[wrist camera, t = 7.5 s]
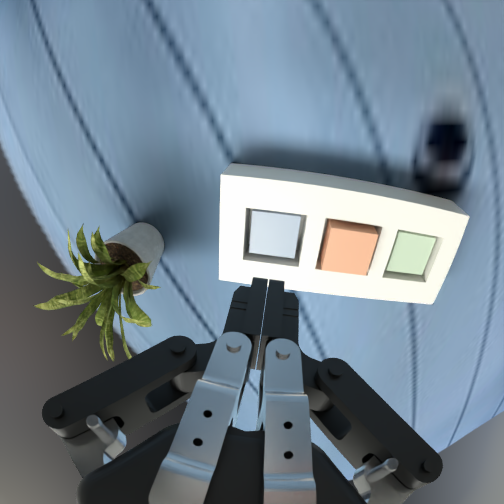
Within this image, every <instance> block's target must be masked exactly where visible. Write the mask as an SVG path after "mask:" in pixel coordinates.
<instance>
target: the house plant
mask: <svg viewBox="0 0 504 504" xmlns="http://www.w3.org/2000/svg"><path fill="white" fill-rule="evenodd" d="M99 226H100V225H99ZM76 243H77V247H78V249H79V251H80V253H81V254H82V256H83V257H84V258H85V259H86V260H87V261H89V263H84V262H83V261H82V259H81V257H80V255H79V253H78V260H77V259H76V257H75V256H74V255H73V253H72V251H71V244H70V237H69V231H68V250H69V254H70V257H71V259H72V261H73V263H74V265H75V266H76V268H77V269H78V270H79V272H80V273H81V274H82V276H72V275H69V274H59V273H55V272H53V271H51V270H49V269H47V268H45V267H44V266H41V265H40V264H39V266H40V267H41V269H42V270H43V271H44V272H45V273H46V274H48V275H50V276H51V277H54V278H56V279H60V280H64V281H69V282H71V283H73V284H74V285H76V286H78V287H80V288H79V289H76V290H74V291H71V292H68V293H65V294H61V295H57V296H55V297H54V298H52V299H51V300H50V301H48V302H46V303H42V304H38V305H36V306H35V307H37V308H40V309H44V310H56V309H60V308H64V307H68V306H72V305H78V304H83V303H87V302H89V301H91V302H90V303H89V304H88V306H87V307H86V308H85V310H84V311H83V312H82V313H81V314H80V316H79V318H78V319H77V322H76V324H75V325H74V326H73V327H72V328H70V329H69V330H68V331H66V333H64V334H63V335H66V334H69V333H71V332H73V337H72V340H74V338H75V337H76V336H77V334H78V332H79V331H80V330H81V329H82V328H83V326H84V325H85V323H86V321H87V319H88V318H89V317H90V316H91V314H93V313H94V311H95V310H96V309H97V308H98V307H99V305H100V303H101V305H100V307H99V309H98V311H97V313H96V316H95V320H96V324H97V325H99V326H102V327H101V332H100V346H101V349H102V351H103V354H104V356H105V357H106V354H105V351H104V346H103V336H104V331H105V337H106V344H107V350H108V353H109V355H110V357H111V359H112V360H113V359H114V352H113V319H114V313H115V312H116V313H117V314H118V315H119V318H120V327H121V335H122V341H123V346H124V349H125V352H126V354H127V357H128V358H129V359H130V358H132V357H131V355H130V353H129V351H128V349H127V346H126V342H125V336H124V330H123V324H122V318H123V319H124V320H125V321H126V322H128V323H136V324H137V325H138V326H142V327H150V326H151V319H150V318H149V317H148V316H147V315H146V314H145V313H144V312H143V311H142V310H141V309H140V308H139V306H138V305H137V304H136V302H135V299H134V296H138V295H140V294H143V293H144V292H145V291H146V290H147V289H157V288H159V287H158V286H152V285H150V283H151V280H152V278H153V275H154V273H155V270H156V268H157V265H158V263H159V260H160V258H161V256H162V253H163V251H164V240H163V238H162V236H161V234H160V233H159V231H158V230H157V229H156V228H155V227H153V226H152V225H150V224H147V223H142V222H139V223H135V224H134V225H132V226H130V227H128V228H127V229H125V230H123V231H121V232H120V233H118V234H116V235H115V236H113V237H111V238H110V239H108V240H106V241H105V242H103V240H102V239H101V236H100V232H99V228H98V230H97V231H96V233H95V234H94V235H93V232H92V236H91V246H92V249H93V251H94V253H95V259H93V258H92V256H91V255H90V253H89V250H88V247H87V243H86V240H85V236H84V233H83V225H82V227H81V229H80V230H79V232H78V233H77V238H76ZM90 262H91V263H93V264H91V263H90ZM87 284H88V285H87ZM84 285H86V286H84ZM160 288H161V287H160ZM101 290H102V291H101ZM99 291H100V292H99ZM97 292H99V293H98V294H96V295H94V296H91V295H93V294H95V293H97ZM119 294H120V295H119ZM121 294H123V297H124V300H125V304H126V310H127V313H128V315H129V317H130V318H131V319H129V318H125V317H122V316H121ZM89 296H91V297H89ZM87 297H88V298H87ZM118 298H119V307H118ZM106 358H107V357H106Z"/></svg>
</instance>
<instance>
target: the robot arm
mask: <svg viewBox="0 0 504 504" xmlns="http://www.w3.org/2000/svg"><path fill="white" fill-rule="evenodd" d="M267 284H268V279H266V278H258V277H253V279H252V284H251V287H245V286H240V287H239V288H238V289H237V290H236V291H235V292H234V294H233V298H232V302H231V305H230V309H229V313H228V316H227V320H226V324H225V327H224V331H223V334H222V335H221V336H220V337H219V338H218V339H217V340H215V341H213V342H211V343H206V344H195V343H194V342H193V341H192V340H191V339H190V338H188V337H185V336H173V337H170V338H168V339H166V340H164V341H162V342H161V343H159V344H157V345H155V346H153V347H151V348H149V349H147V350H146V351H144V352H142V353H140V354H138V355H136V356H134V357H132V358H130V359H128V360H127V361H124V362H123V363H121V364H119V365H117V366H115V367H113V368H111V369H109V370H107V371H105V372H103V373H101V374H99V375H97V376H95V377H93V378H91V379H89V380H87V381H85V382H83V383H81V384H79V385H77V386H75V387H73V388H71V389H69V390H67V391H65V392H63V393H60V394H58V395H57V396H54V397H52V398H50V399H49V400H48V401H47V402H46V403H45V404H44V406H43V409H42V417H43V420H44V422H45V423H46V424H47V425H48V426H49V427H50V428H51V429H52V430H53V431H54V432H55V433H56V434H57V435H58V436H59V437H60V438H61V439H62V441H63V443H64V445H65V447H66V449H67V451H68V453H69V455H70V457H71V459H72V460H73V462H74V464H75V465H76V468H77V469H78V471H79V473H80V475H81V476H82V478H83V479H82V480H81V482H80V483H79V485H78V488H77V492H76V502H77V504H402V503H403V502H404V501H405V500H406V498H408V497H409V496H410V495H411V494H412V493H413V491H414V490H416V489H418V488H420V487H423V486H425V485H427V484H429V483H431V482H433V481H434V480H436V479H437V478H438V477H439V476H440V474H441V471H442V468H443V464H442V459H441V457H440V456H439V454H438V453H437V452H436V451H435V450H433V449H432V448H431V447H430V446H429V445H428V444H427V443H426V442H425V441H424V440H423V439H422V438H421V437H420V436H419V435H418V434H417V433H416V432H415V431H414V430H413V429H412V428H411V427H410V426H409V425H408V424H407V423H406V422H405V421H404V420H403V419H402V418H401V417H400V416H399V415H398V414H397V413H396V412H395V411H394V410H393V409H392V408H391V407H390V406H389V405H388V404H387V403H386V402H385V401H384V400H383V399H382V398H381V397H380V396H379V395H378V394H377V393H376V392H375V391H374V390H373V389H372V388H371V387H370V386H369V385H368V384H367V383H366V382H365V381H364V380H363V379H362V378H361V377H360V376H359V375H358V374H357V373H356V372H355V371H354V370H353V369H352V368H351V367H350V366H349V365H348V364H347V363H346V362H345V361H343V360H341V359H338V358H328V359H325V360H323V361H322V362H320V361H318V360H315V359H312V358H310V357H308V356H307V355H305V354H304V353H303V352H302V351H301V349H300V347H299V344H298V323H299V318H298V316H299V311H298V310H299V301H298V299H297V297H296V296H295V294H294V293H289V292H284V285H285V281H281V280H273V279H269V285H268V292H267V298H266V291H267ZM265 298H266V305H265ZM264 306H265V312H264ZM263 313H264V319H263ZM262 320H263V326H262ZM261 327H262V333H261ZM260 334H261V341H260ZM259 341H260V348H259V355H258V362H257V369H256V370H261V374H260V381H259V386H258V408H257V424H256V431H243V430H240V429H237V428H235V426H236V421H237V417H238V413H239V410H240V406H241V402H242V399H243V395H244V391H245V388H246V383H247V381H248V379H249V374H250V369H255V365H256V359H257V353H258V347H259ZM189 398H190V400H189V402H188V405H187V407H186V410H185V412H184V415H183V417H182V420H181V422H180V423H177V424H174V425H171V426H168V427H166V428H164V429H163V430H161V431H159V432H158V433H156V434H155V435H153V436H152V437H150V438H148V439H147V440H145V441H144V442H142V443H141V444H139V445H137V446H136V447H134V448H133V449H131V450H129V451H127V452H126V453H124V454H122V455H121V456H119V457H117V458H115V457H116V456H117V455H118V454H119V453H120V452H122V451H123V449H124V448H125V446H126V436H127V435H128V434H130V433H132V432H134V431H136V430H137V429H139V428H141V427H143V426H145V425H146V424H148V423H150V422H151V421H153V420H155V419H156V418H158V417H160V416H161V415H163V414H165V413H167V412H168V411H170V410H171V409H173V408H175V407H176V406H178V405H180V404H181V403H183V402H184V401H186V400H187V399H189ZM310 418H311V419H312V420H313V421H314V423H315V424H316V425H317V426H318V427H319V428H320V430H321V431H322V432H323V433H324V434H325V435H326V437H327V438H328V439H329V440H330V441H331V442H332V443H333V445H334V446H335V447H336V448H337V449H338V450H339V451H340V453H341V454H342V455H343V456H344V457H345V458H346V459H347V460H348V461H349V462H350V464H351V465H352V466H353V467H354V468H355V469H356V471H355V473H354V476H353V481H354V484H355V486H356V487H357V489H358V491H359V493H358V492H357V491H356V490H355V489H354V487H353V486H352V485H351V484H350V483H349V482H348V480H347V479H346V478H345V477H344V476H343V474H342V473H341V472H340V471H339V470H338V468H337V467H336V466H335V465H334V463H333V462H332V461H331V460H330V458H329V457H328V456H327V455H326V453H325V452H324V451H323V450H322V449H321V448H320V447H318V446H317V445H315V444H314V443H312V442H311V429H310ZM114 458H115V459H114Z"/></svg>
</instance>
